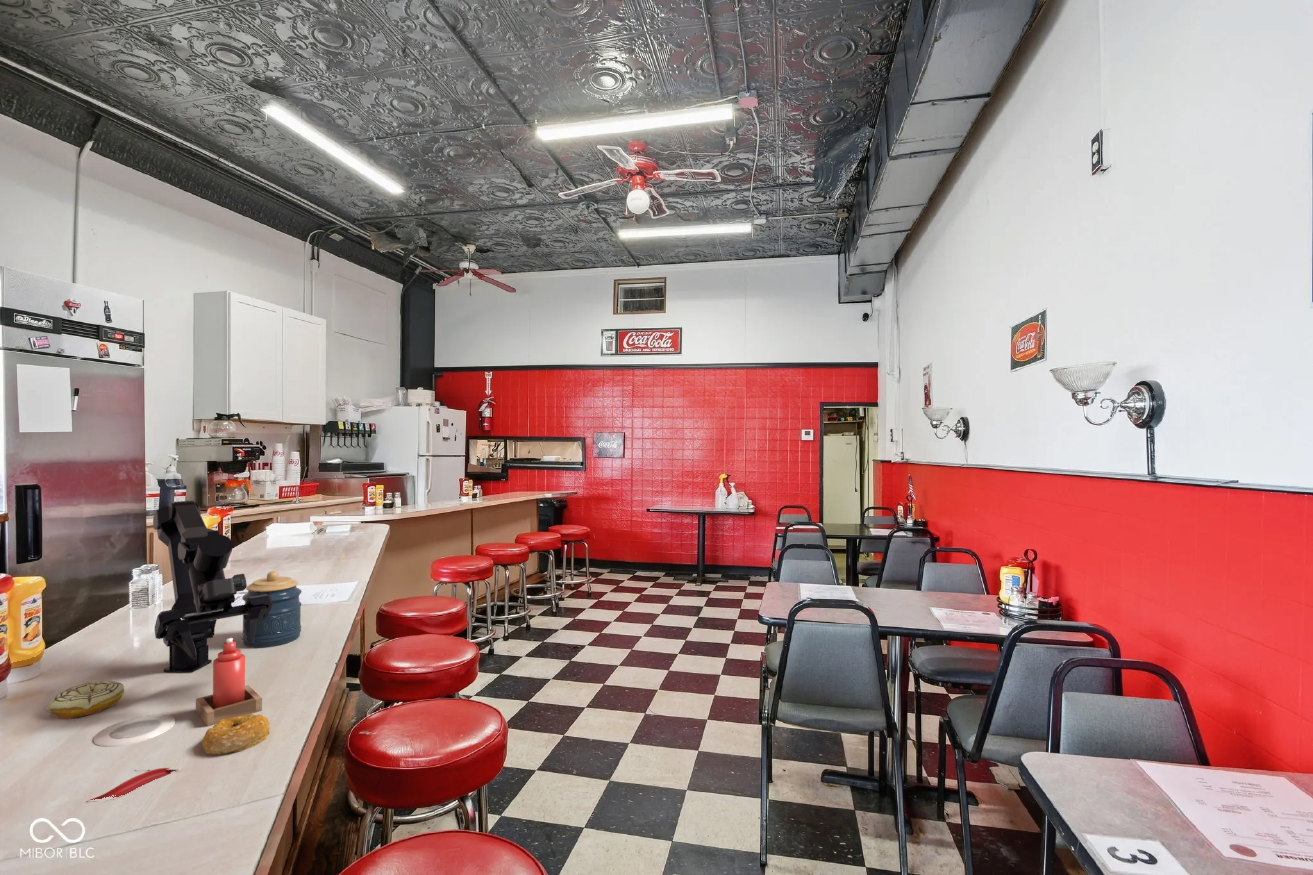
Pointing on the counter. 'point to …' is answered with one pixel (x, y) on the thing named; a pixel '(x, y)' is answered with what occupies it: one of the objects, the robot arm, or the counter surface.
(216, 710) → the tray
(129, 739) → the saucer
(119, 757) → the counter surface
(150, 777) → the cayenne pepper
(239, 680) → the ketchup bottle
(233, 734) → the bagel
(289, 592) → the canister
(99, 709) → the decorated donut
